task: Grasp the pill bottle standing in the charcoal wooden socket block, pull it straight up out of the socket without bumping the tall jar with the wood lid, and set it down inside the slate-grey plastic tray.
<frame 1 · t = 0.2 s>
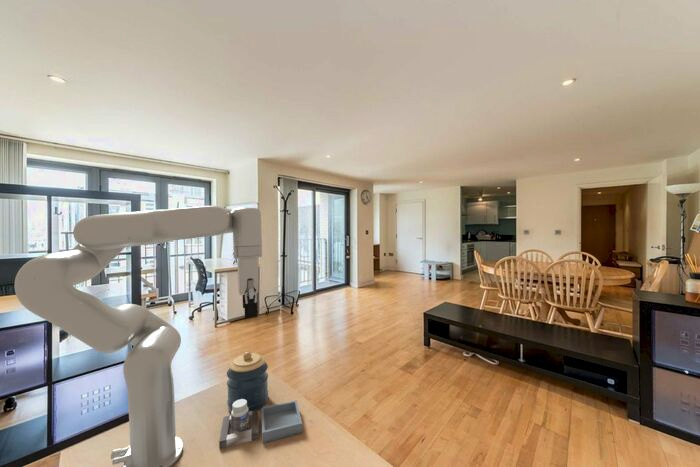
hand: (249, 312, 77), 36 cm above the table, tool pointing down, fingers open, 9 cm apart
socket block: (240, 430, 80), on the table
pill bottle: (240, 431, 80), resting in socket block
canister: (248, 403, 93), on the table
tray: (281, 424, 83), on the table
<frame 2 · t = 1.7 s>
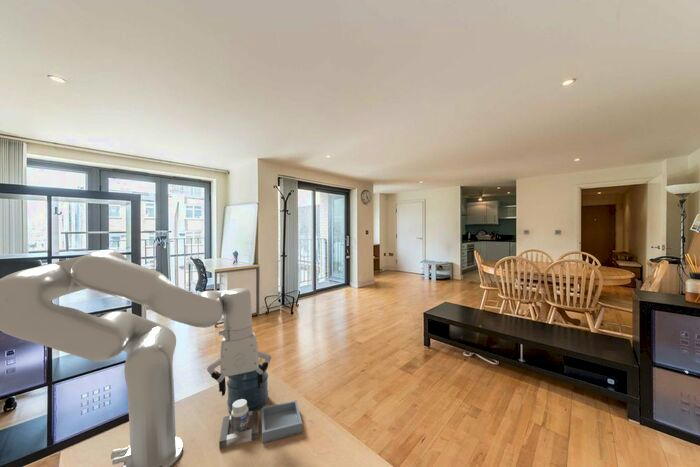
hand: (241, 389, 80), 12 cm above the table, tool pointing down, fingers open, 9 cm apart
nothing on the table moved.
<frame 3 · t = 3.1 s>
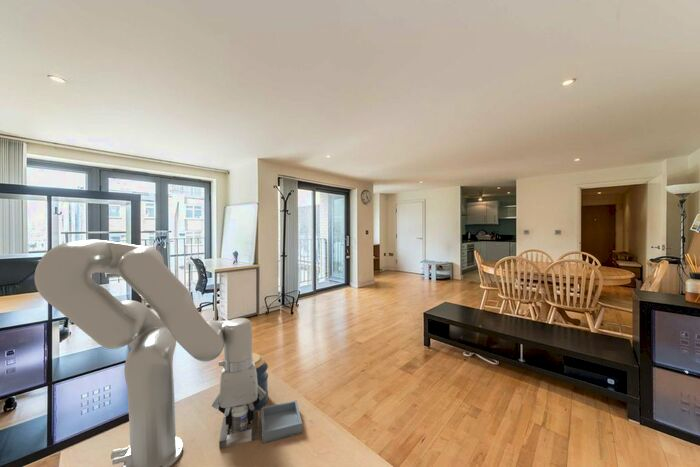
hand: (240, 422, 80), 2 cm above the table, tool pointing down, fingers closed on pill bottle, 4 cm apart
pill bottle: (240, 431, 80), resting in socket block, touching gripper
everything else where it was.
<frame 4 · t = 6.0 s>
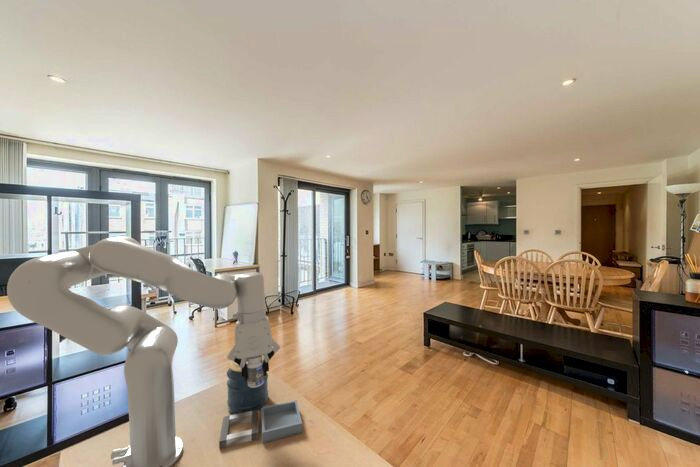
hand: (255, 375, 81), 16 cm above the table, tool pointing down, fingers closed on pill bottle, 4 cm apart
pill bottle: (256, 383, 81), point 13 cm above the table, touching gripper
everything else where it was.
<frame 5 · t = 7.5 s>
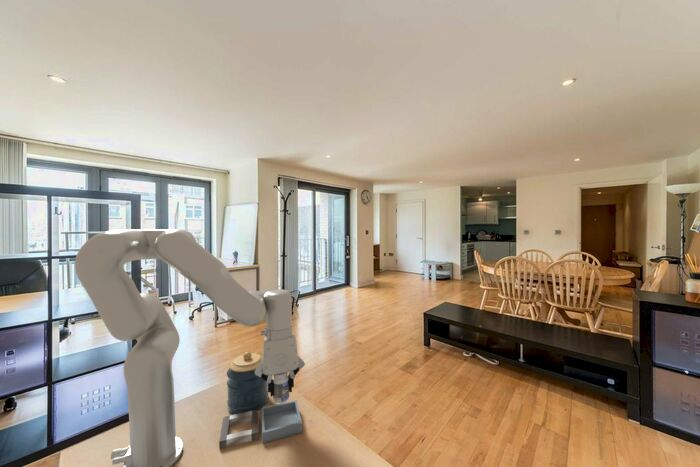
hand: (281, 391, 82), 10 cm above the table, tool pointing down, fingers closed on pill bottle, 4 cm apart
pill bottle: (281, 399, 82), point 8 cm above the table, touching gripper
everything else where it was.
when the fingers open (5 cm above the table, at t = 8.8 s): pill bottle drops 2 cm, resting on tray.
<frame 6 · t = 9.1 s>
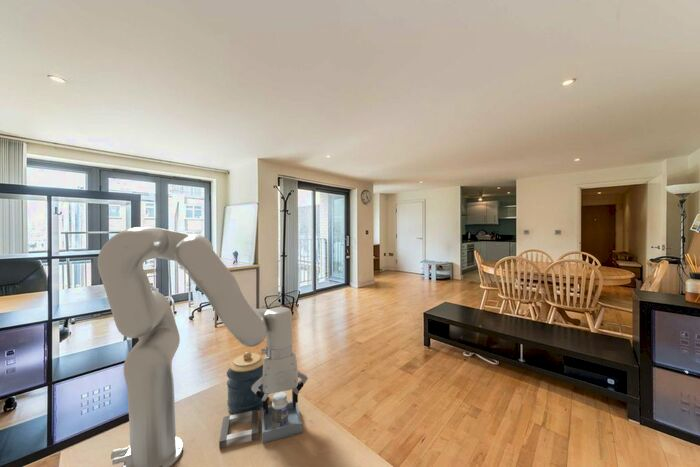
hand: (280, 407, 82), 5 cm above the table, tool pointing down, fingers open, 7 cm apart
pill bottle: (280, 423, 82), resting on tray
everything else where it was.
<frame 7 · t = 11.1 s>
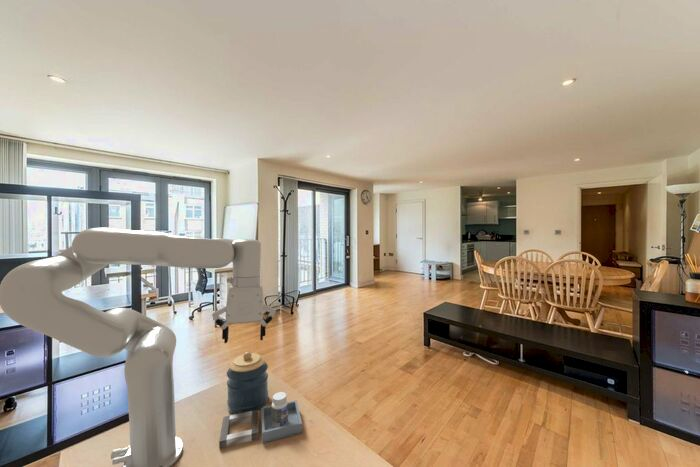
hand: (244, 339, 80), 27 cm above the table, tool pointing down, fingers open, 9 cm apart
nothing on the table moved.
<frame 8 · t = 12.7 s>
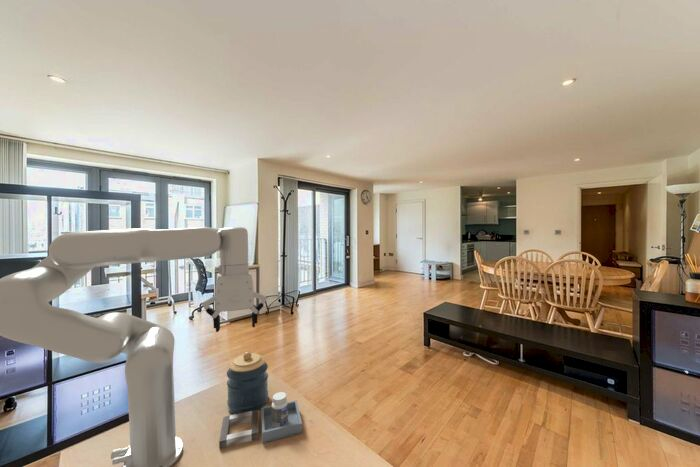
hand: (236, 328, 80), 30 cm above the table, tool pointing down, fingers open, 9 cm apart
nothing on the table moved.
at the end: pill bottle inside the target area on the tray (0.3 cm from its centre), point 0.4 cm above the tray's base; the gripper is holding nothing; canister moved 0.3 cm from its start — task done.
